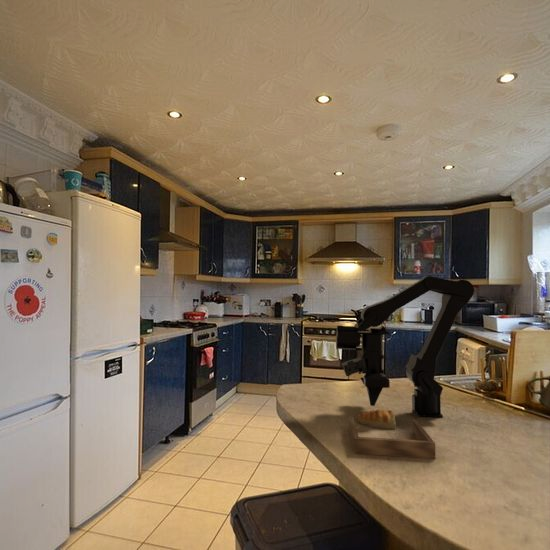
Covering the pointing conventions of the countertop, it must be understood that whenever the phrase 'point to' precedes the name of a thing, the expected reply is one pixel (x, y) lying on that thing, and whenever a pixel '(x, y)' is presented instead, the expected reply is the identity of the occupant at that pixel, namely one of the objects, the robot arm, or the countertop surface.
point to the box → (394, 443)
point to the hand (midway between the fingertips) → (372, 405)
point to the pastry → (378, 419)
